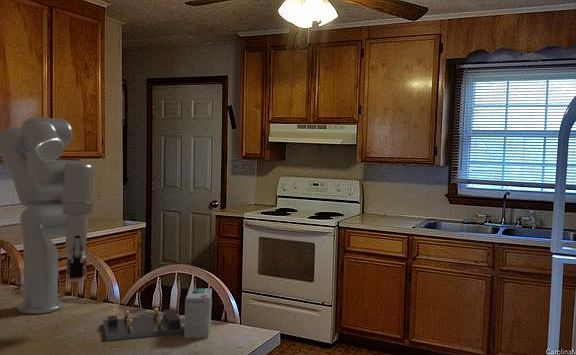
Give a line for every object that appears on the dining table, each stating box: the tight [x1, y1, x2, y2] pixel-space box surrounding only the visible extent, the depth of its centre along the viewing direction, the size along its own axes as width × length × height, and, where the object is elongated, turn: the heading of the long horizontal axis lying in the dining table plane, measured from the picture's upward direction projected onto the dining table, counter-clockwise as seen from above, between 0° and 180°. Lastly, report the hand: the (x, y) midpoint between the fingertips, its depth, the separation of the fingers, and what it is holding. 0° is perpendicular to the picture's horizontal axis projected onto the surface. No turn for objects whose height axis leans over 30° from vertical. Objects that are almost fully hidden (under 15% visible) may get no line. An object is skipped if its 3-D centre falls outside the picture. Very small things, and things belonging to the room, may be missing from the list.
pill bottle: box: [66, 249, 87, 282], centre depth 144 cm, size 5×5×8 cm
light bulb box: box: [183, 287, 213, 339], centre depth 146 cm, size 11×7×11 cm, turn 5°
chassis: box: [102, 307, 185, 342], centre depth 147 cm, size 14×20×4 cm
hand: (76, 274), depth 144 cm, fingers closed on pill bottle, 4 cm apart
